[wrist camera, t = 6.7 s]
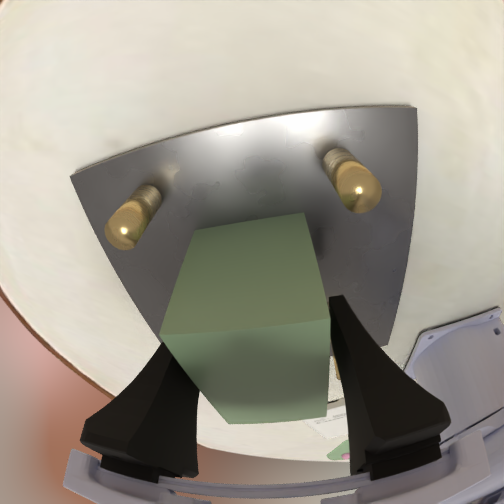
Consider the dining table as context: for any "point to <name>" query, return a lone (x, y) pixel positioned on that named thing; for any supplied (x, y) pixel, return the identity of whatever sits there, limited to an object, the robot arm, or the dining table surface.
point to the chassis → (267, 201)
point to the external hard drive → (331, 421)
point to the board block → (253, 321)
